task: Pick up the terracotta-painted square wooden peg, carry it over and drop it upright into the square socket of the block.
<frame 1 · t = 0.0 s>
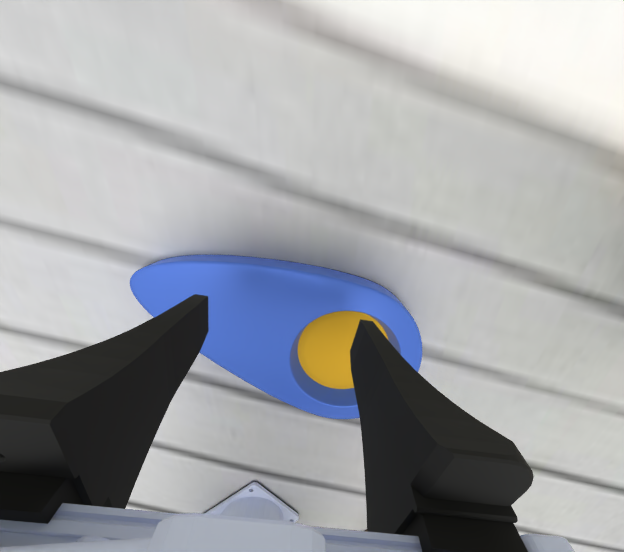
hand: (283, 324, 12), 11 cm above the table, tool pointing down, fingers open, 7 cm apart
location marker: (283, 317, 25), on the table
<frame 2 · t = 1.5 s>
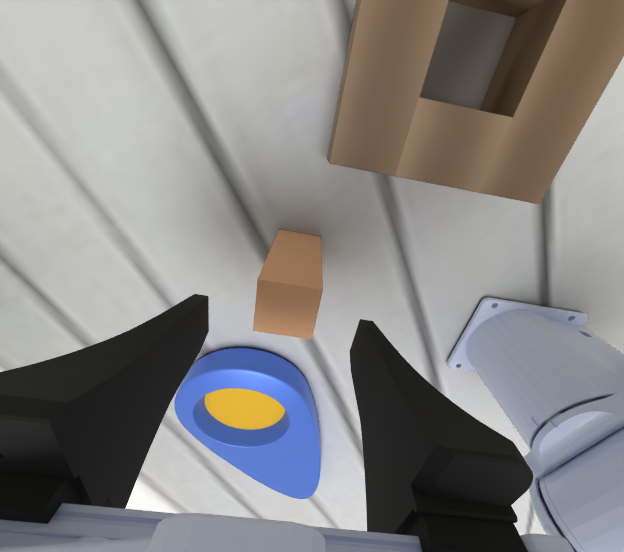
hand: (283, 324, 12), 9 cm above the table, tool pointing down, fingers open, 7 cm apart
location marker: (270, 420, 31), on the table
socket block: (449, 66, 15), on the table
peg: (296, 252, 21), on the table
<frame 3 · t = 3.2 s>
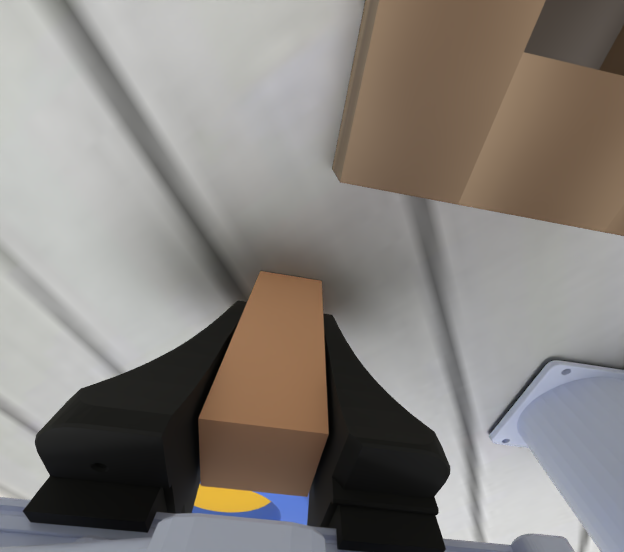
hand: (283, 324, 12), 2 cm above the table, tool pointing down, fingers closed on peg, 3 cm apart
location marker: (260, 492, 25), on the table
socket block: (544, 13, 9), on the table
peg: (287, 301, 14), on the table, touching gripper
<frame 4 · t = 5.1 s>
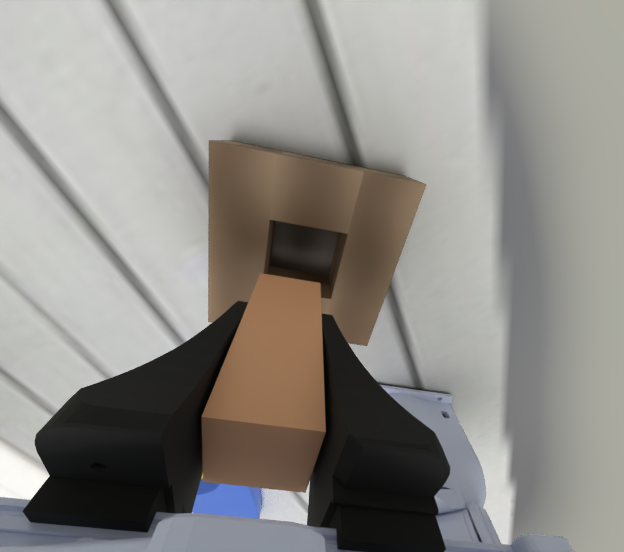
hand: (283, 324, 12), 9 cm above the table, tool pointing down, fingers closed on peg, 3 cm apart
location marker: (215, 467, 37), on the table
socket block: (304, 241, 20), on the table
peg: (286, 303, 15), point 7 cm above the table, touching gripper
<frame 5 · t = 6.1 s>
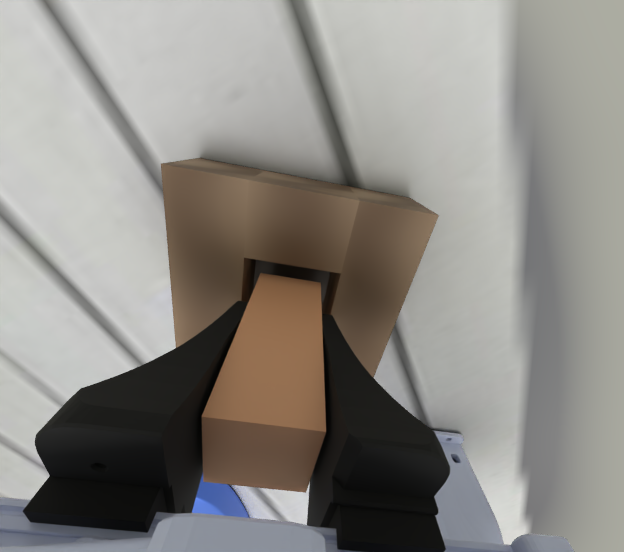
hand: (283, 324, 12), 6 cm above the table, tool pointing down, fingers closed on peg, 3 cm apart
location marker: (203, 505, 34), on the table
socket block: (292, 272, 17), on the table
peg: (286, 302, 15), point 3 cm above the table, touching gripper
when the fingers open (5 cm above the table, at t = 7.1 s): peg drops 2 cm, resting on socket block.
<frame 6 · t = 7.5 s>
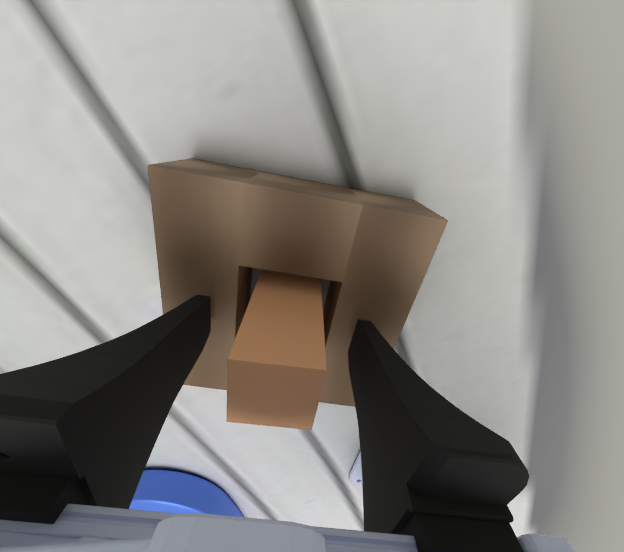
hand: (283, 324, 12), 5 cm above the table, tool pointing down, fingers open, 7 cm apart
location marker: (202, 514, 33), on the table
socket block: (291, 278, 17), on the table
peg: (290, 284, 16), point 1 cm above the table, touching socket block
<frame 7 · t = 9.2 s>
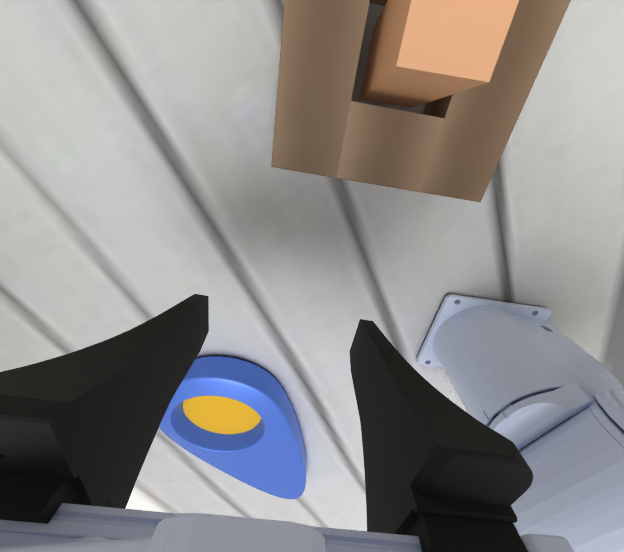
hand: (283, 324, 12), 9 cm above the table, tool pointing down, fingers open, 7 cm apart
location marker: (254, 424, 32), on the table
socket block: (391, 69, 15), on the table
peg: (393, 71, 15), resting on socket block
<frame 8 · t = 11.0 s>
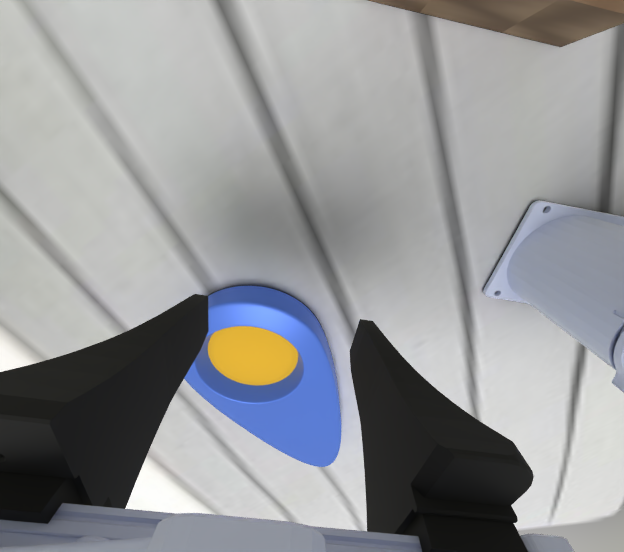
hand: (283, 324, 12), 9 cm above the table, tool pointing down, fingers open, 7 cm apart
location marker: (283, 378, 28), on the table
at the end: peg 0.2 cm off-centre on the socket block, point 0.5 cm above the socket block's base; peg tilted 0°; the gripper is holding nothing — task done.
